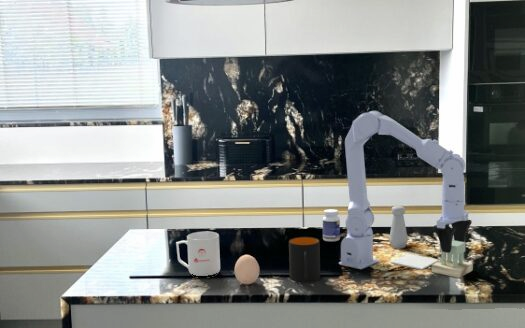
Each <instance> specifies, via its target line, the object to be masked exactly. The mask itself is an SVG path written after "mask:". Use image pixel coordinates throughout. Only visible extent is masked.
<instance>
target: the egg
mask: <svg viewBox="0 0 525 328" xmlns="http://www.w3.org/2000/svg"><path fill="white" fill-rule="evenodd" d="M234 265H235V266H234V275H235V276H234V277H235V278H236V279H237V281H239V282H240V283H242V284H243V285H251V284H253V283H254V282H256V281H257V279H259V276H260V266H259V263H258V261H257V260H256V258H255V257H253V256H251V255H250V254H244V255H241V256H240V257H239V258H238V259H237V261H236V262H235V264H234Z"/></svg>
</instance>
